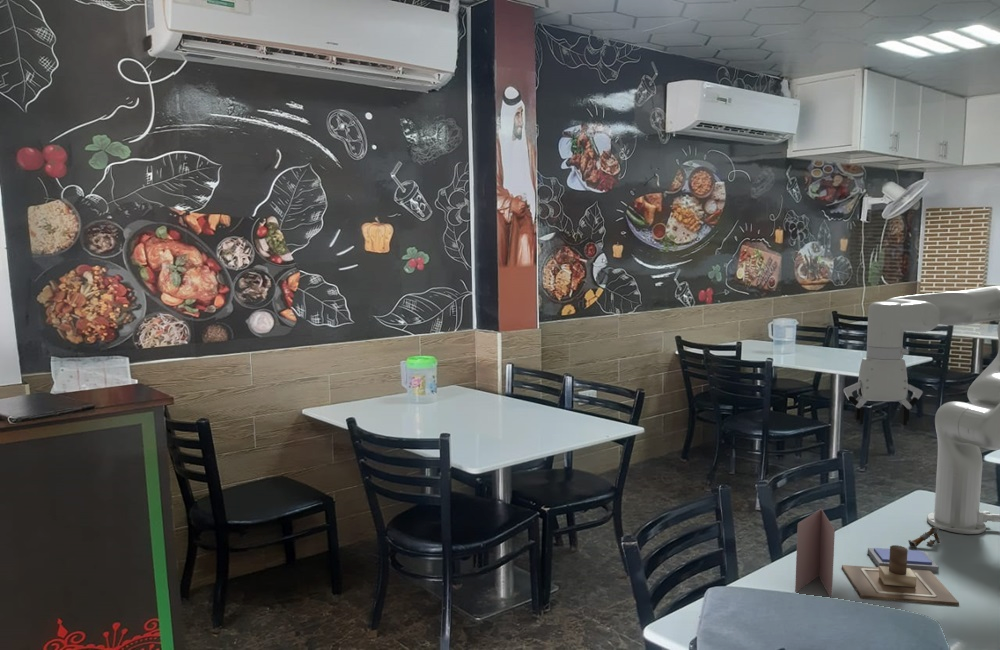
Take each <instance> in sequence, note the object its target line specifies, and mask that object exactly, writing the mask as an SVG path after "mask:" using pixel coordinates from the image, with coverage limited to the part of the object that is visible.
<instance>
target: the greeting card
mask: <svg viewBox="0 0 1000 650" xmlns="http://www.w3.org/2000/svg"><path fill="white" fill-rule="evenodd" d="M796 532H797V533H796V554H795V555H796V559H795V562H796V563H795V584H794V585H795V587H794V588H795V589H794V590H795V591H794V593H795V592H796V593H798V592H799V591H800V590H802V589H803V588H804V587H805V585H806V586H807V585H808V584H809V583H811V582H813V580H815V579H816V578H817V577H819V579H820V581H821V583H822V585H823V586H824V589H825V591H826V593H827V594H828V596H829V598H830V597H832V598H833V582H834V581H833V580H834V579H833V578H834V559H835V558H834V557H835V538H836V537H835V536H836V535H835V534H836V533H835V532H836V529H835V528H834V526H833V525H832V523H831V522H830V520H829V518H828V517H827V515H826V514H825V512H824V510H823V509H822V508H820V509H818V510H817V511H815V512H814V513H812V514H810V515H809V516H807V517H805V518H803V519H802V520H801V521H799V522H798V523H797V531H796ZM803 586H804V587H803ZM802 587H803V588H802ZM801 588H802V589H801ZM799 589H800V590H799ZM798 590H799V591H798ZM797 591H798V592H797Z"/></svg>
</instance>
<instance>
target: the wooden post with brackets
mask: <svg viewBox="0 0 1000 650" xmlns="http://www.w3.org/2000/svg"><path fill="white" fill-rule="evenodd" d="M939 529H940V528H938V527H935V526H932V527H931V528H930V529H929V530H928V531H927V532H924V533H923V534H922V535H919V537H917V538H916V539H913V540H910V539H908V541H907V542H908V544H909V547H912V548H914V549H915V550H917V549H918V546H919V545H920V544H921V543H922V542H923V541H924V542H925V541H926V546H927V547H929V546H930V547H932V546H935V545H936V544H940V543H941V539H940V537H939V535H938V532H939ZM931 536H932V537H934V539H929V538H931ZM928 539H929V541H927V540H928ZM935 543H936V544H935Z"/></svg>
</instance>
